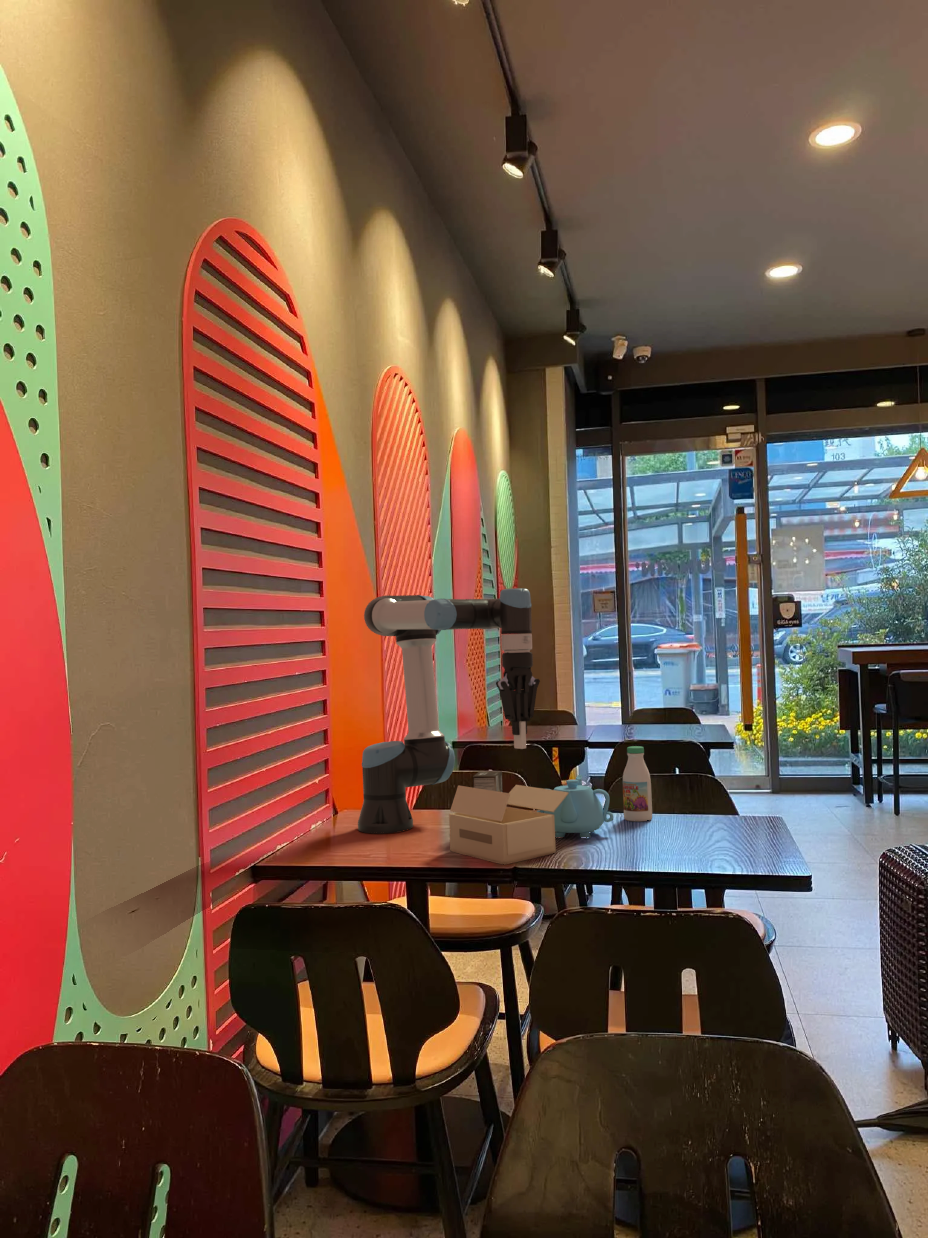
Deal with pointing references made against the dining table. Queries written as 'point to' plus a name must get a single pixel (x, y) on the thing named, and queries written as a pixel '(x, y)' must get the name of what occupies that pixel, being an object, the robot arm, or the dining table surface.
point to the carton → (503, 836)
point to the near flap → (480, 802)
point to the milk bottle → (636, 787)
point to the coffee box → (488, 780)
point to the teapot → (579, 809)
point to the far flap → (536, 798)
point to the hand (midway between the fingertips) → (520, 748)
